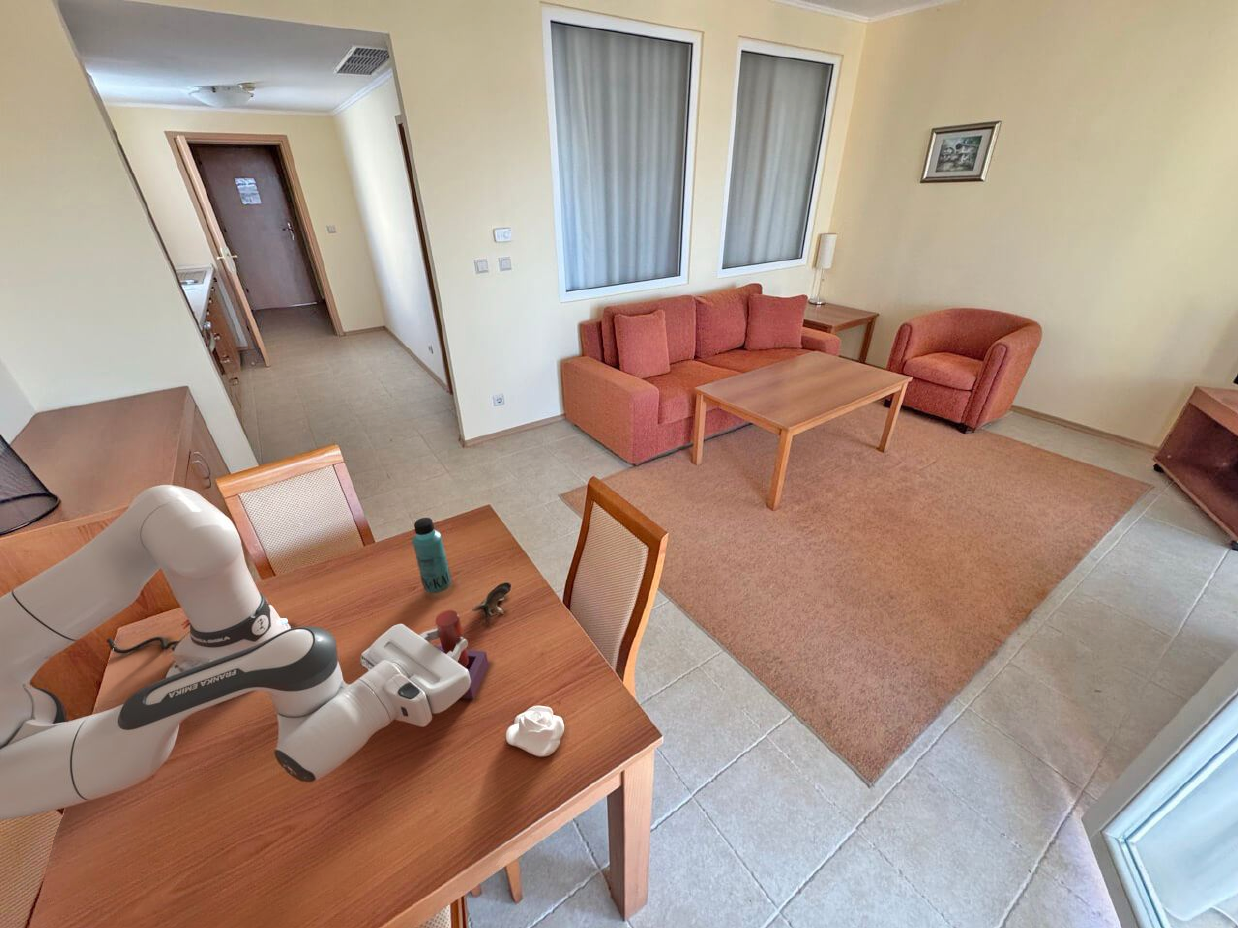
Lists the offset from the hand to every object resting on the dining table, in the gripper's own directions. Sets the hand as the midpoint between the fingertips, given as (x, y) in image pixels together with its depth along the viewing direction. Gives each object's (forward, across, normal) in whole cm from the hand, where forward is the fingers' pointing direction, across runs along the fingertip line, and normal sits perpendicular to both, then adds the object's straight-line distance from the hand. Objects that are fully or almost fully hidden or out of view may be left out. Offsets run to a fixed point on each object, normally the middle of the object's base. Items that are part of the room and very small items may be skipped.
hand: (455, 634), depth 92 cm
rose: (-1, +20, -12) cm, 23 cm away
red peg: (-1, 0, -7) cm, 7 cm away
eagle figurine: (+15, -8, -12) cm, 21 cm away
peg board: (-4, -6, -12) cm, 13 cm away
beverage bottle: (+13, -25, -12) cm, 30 cm away
